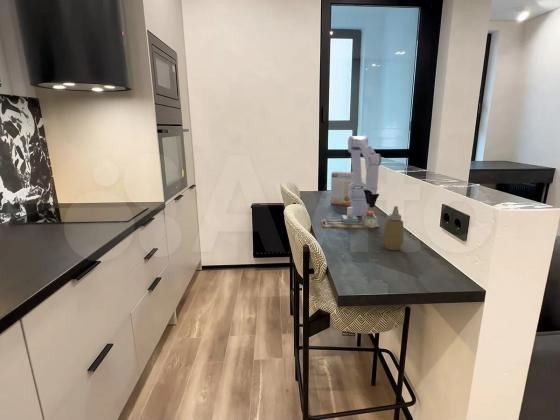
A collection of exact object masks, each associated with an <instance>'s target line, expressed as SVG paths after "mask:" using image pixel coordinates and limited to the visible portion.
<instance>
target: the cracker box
mask: <svg viewBox="0 0 560 420" xmlns="http://www.w3.org/2000/svg"><path fill="white" fill-rule="evenodd" d="M330 179H331V181H330V205H338V206H346V207H350V206H351V199H350V198H349V197H348V187H349V185H350V184H351V183H353V172H349V171H336V170H335V171H332V172H331V178H330ZM353 188H356V187H353Z"/></svg>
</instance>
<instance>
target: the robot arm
mask: <svg viewBox="0 0 560 420" xmlns="http://www.w3.org/2000/svg"><path fill="white" fill-rule="evenodd" d="M347 149H348V150H347V151H348V153H350V155H351V169H352V173H353V183H351V184H350V185H349V187H348V197H349V198H350V199H351V206H349V207H353V215H356V217H362V214H366V213H365V212H366V211H369V210H368V207H369V208H375V205H376V202H377V200H378V198H379V196H380V193H377V191H378V180H379V171H380V170H379V168H380V166H381V165H382V164H381V163H382V156H381V153H376V151H375V150H374V149H373V147H372V146H371V145H370V146H369V137H368V136H367V135H354V136H353V135H350V136H349V137H348V140H347ZM361 154H362V156H363V158H364V163H365V170H366V173H365V183H364V182H363V181H362V163H361ZM353 187H355V188H353Z"/></svg>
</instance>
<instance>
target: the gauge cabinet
mask: <svg viewBox="0 0 560 420" xmlns="http://www.w3.org/2000/svg"><path fill="white" fill-rule="evenodd" d="M366 215H367V214H362V216H361V221H362V222H363V223H364V225H371V226H377V224H378V217H377V216H376V214H375V213H374V214H373V217H366Z"/></svg>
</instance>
